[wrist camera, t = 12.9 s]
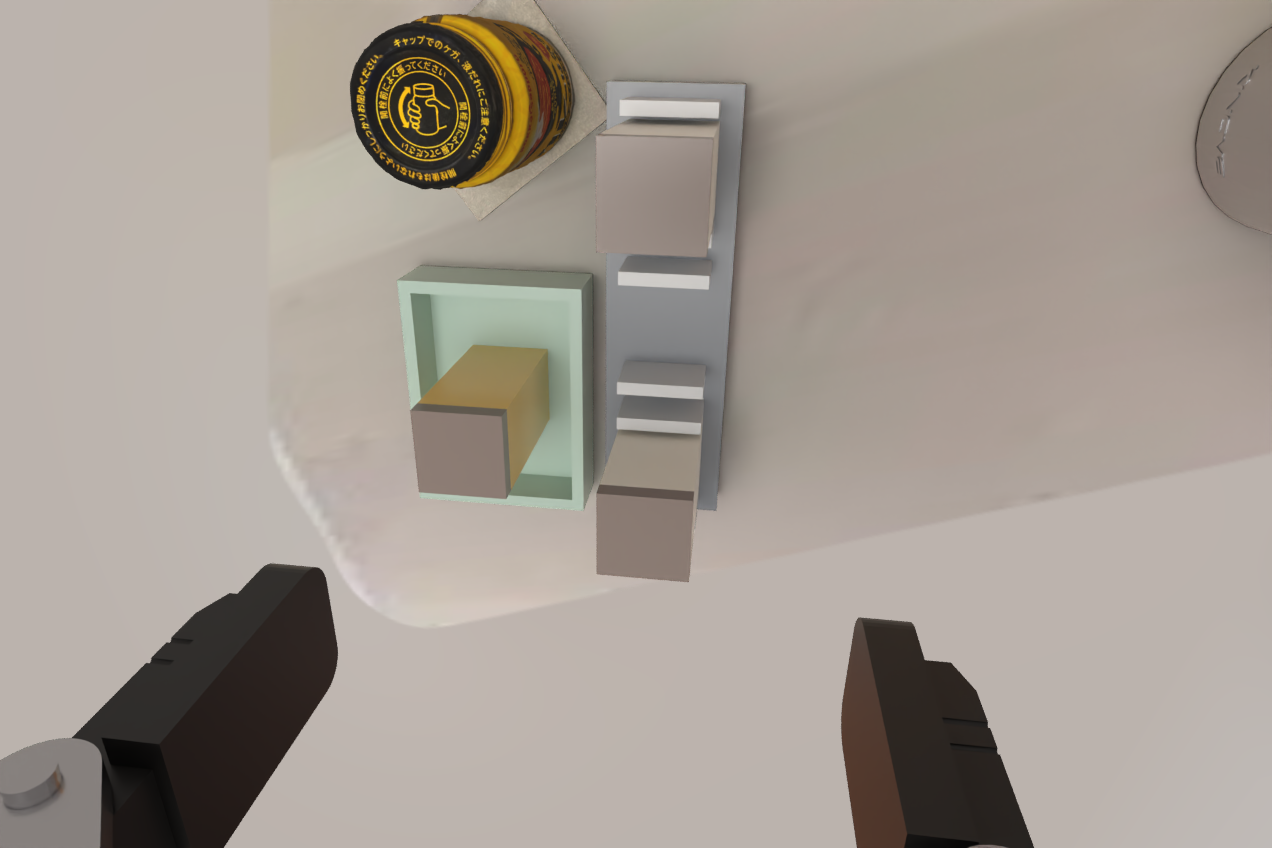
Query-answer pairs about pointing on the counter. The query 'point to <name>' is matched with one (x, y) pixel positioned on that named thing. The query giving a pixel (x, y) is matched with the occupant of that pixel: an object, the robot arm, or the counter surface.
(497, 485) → the block
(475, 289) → the tray
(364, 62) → the condiment
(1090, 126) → the counter surface
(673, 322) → the rail
